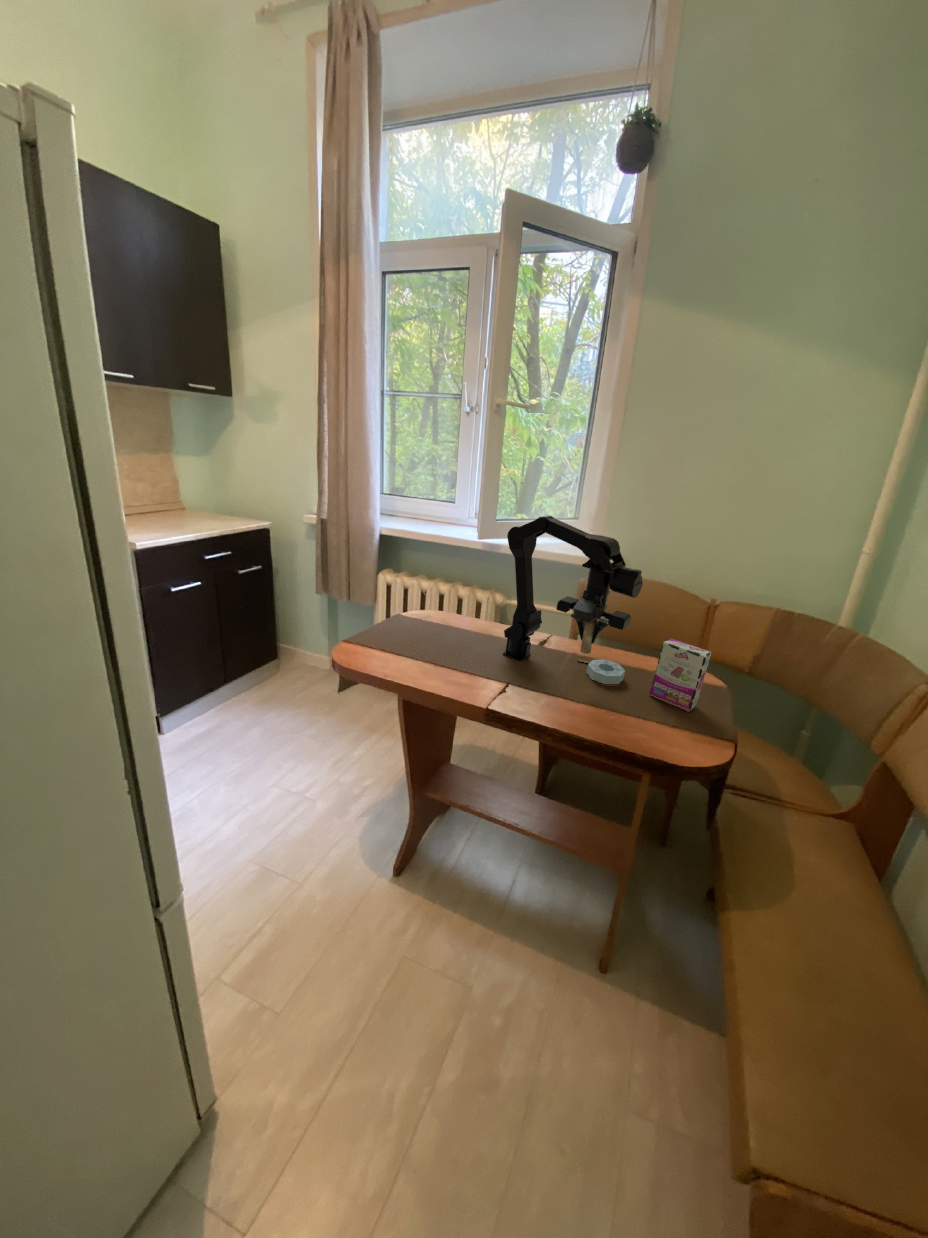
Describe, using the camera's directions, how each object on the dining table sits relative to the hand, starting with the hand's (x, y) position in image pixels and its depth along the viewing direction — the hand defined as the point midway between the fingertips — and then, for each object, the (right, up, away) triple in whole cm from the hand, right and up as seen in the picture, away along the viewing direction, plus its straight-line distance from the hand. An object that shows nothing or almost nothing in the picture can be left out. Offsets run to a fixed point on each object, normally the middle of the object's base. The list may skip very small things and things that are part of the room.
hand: (587, 641), depth 131 cm
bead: (+7, -11, +9) cm, 16 cm away
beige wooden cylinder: (0, -3, +1) cm, 3 cm away
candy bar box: (+23, -16, -1) cm, 28 cm away
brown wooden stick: (+7, -8, +15) cm, 18 cm away
